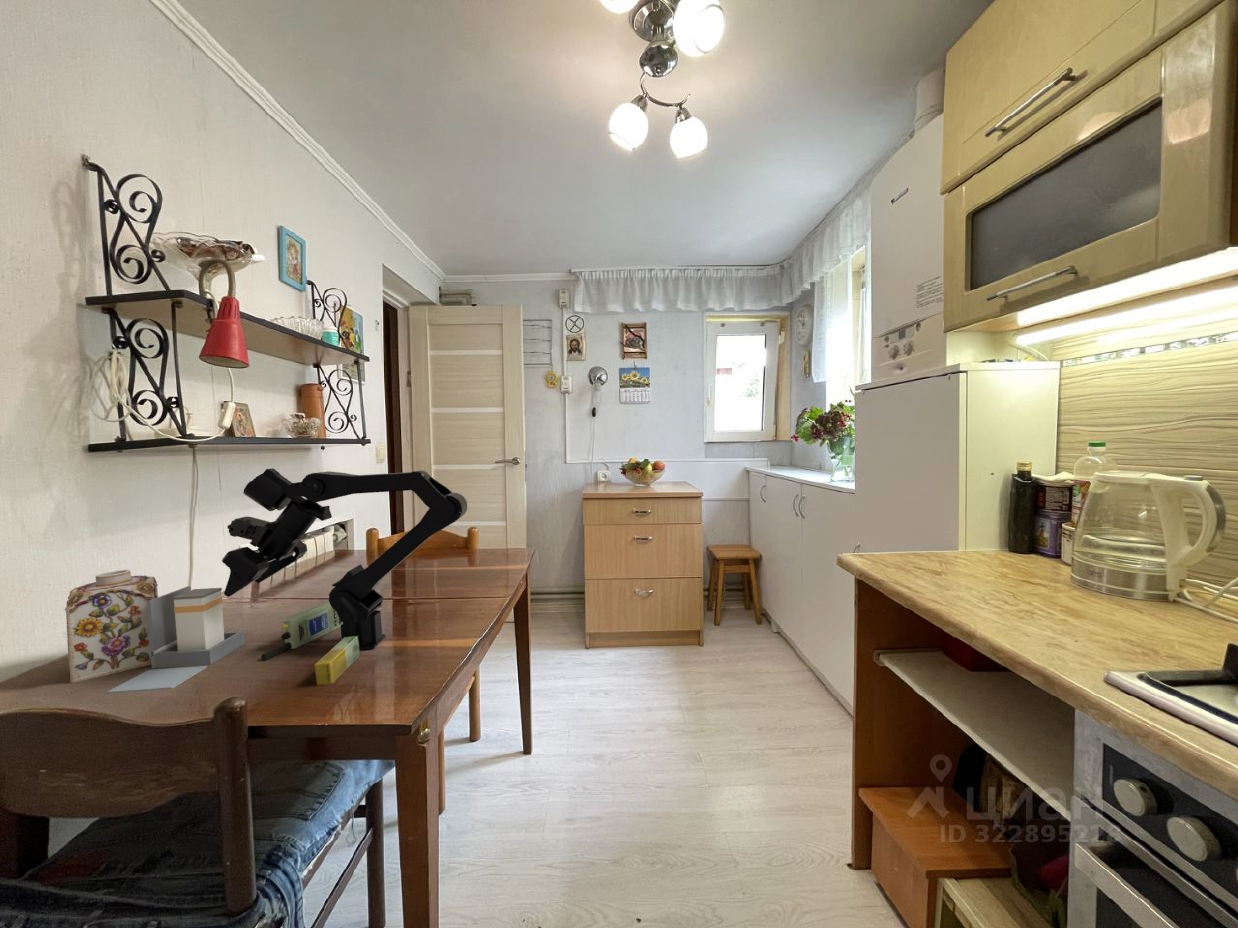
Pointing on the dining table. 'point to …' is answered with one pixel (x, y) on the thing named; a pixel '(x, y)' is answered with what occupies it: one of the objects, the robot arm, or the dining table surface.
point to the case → (166, 637)
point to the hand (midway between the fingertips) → (242, 588)
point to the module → (199, 619)
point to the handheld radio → (306, 627)
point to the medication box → (337, 660)
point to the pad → (158, 679)
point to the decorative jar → (109, 625)
